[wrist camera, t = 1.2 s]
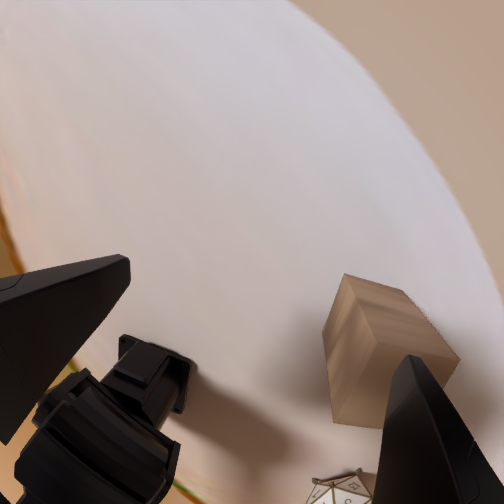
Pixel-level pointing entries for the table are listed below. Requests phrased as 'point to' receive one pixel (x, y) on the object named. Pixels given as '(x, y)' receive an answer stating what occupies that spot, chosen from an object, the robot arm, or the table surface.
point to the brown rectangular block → (376, 348)
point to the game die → (341, 491)
